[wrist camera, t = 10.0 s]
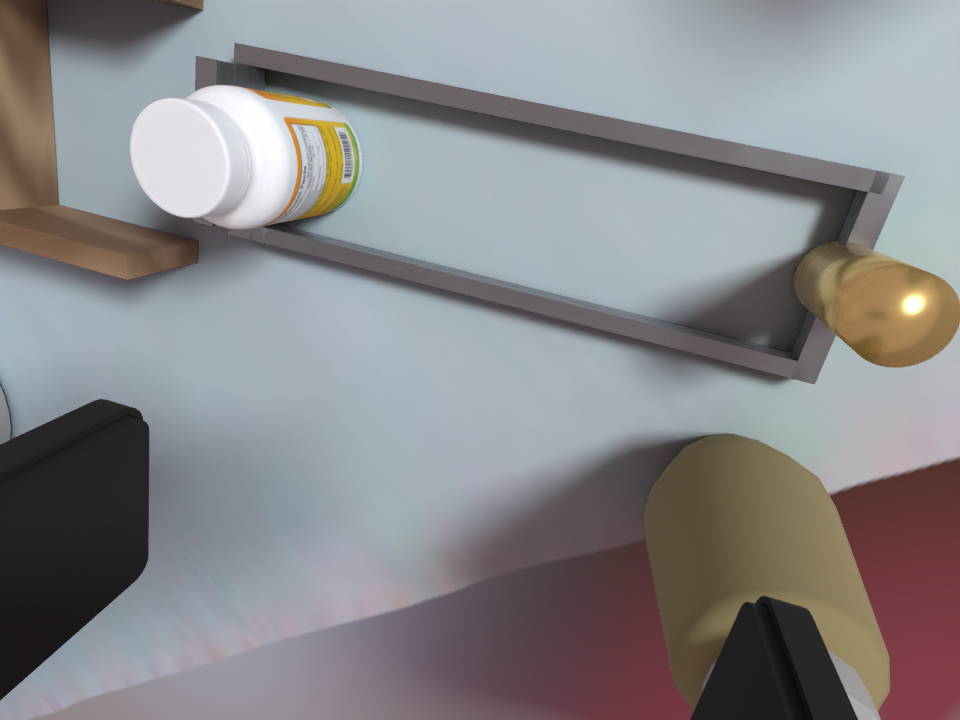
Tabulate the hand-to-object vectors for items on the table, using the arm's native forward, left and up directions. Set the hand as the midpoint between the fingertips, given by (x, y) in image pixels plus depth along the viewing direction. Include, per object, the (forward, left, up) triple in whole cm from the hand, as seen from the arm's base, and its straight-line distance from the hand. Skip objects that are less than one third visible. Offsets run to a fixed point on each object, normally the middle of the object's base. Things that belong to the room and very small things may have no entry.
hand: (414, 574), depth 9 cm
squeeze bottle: (-8, -10, -22) cm, 25 cm away
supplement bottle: (+3, +14, -22) cm, 26 cm away
